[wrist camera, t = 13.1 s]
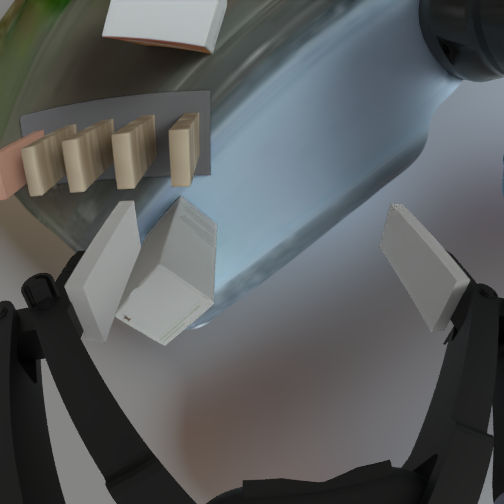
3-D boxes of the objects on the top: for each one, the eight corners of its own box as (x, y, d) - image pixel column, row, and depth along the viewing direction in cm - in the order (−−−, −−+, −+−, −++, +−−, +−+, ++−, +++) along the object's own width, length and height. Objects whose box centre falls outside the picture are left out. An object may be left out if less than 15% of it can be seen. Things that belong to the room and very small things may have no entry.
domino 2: (76, 123, 31) (33, 146, 22) (81, 162, 33) (42, 195, 25) (65, 125, 30) (20, 149, 22) (70, 163, 33) (30, 196, 25)
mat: (210, 90, 31) (210, 90, 30) (210, 173, 36) (210, 175, 36) (22, 115, 29) (19, 116, 29) (33, 185, 34) (31, 186, 34)
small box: (142, 46, 27) (98, 37, 16) (156, -5, 24) (120, -37, 13) (213, 55, 29) (205, 48, 18) (228, 5, 26) (229, -29, 15)
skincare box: (179, 262, 43) (164, 350, 30) (142, 234, 40) (109, 317, 27) (220, 222, 40) (218, 306, 27) (180, 190, 37) (156, 265, 24)
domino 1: (43, 129, 30) (-3, 154, 22) (49, 166, 33) (7, 199, 25) (34, 131, 30) (-13, 156, 22) (39, 167, 33) (-3, 200, 24)
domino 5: (199, 112, 32) (188, 129, 23) (199, 154, 34) (190, 186, 26) (184, 112, 32) (168, 130, 23) (185, 155, 34) (171, 186, 26)
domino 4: (154, 114, 31) (128, 133, 23) (157, 156, 34) (134, 188, 26) (141, 115, 31) (111, 134, 23) (143, 157, 34) (117, 189, 26)
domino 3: (113, 118, 31) (76, 139, 23) (117, 159, 34) (84, 191, 25) (101, 120, 31) (61, 141, 23) (105, 160, 34) (70, 192, 25)
